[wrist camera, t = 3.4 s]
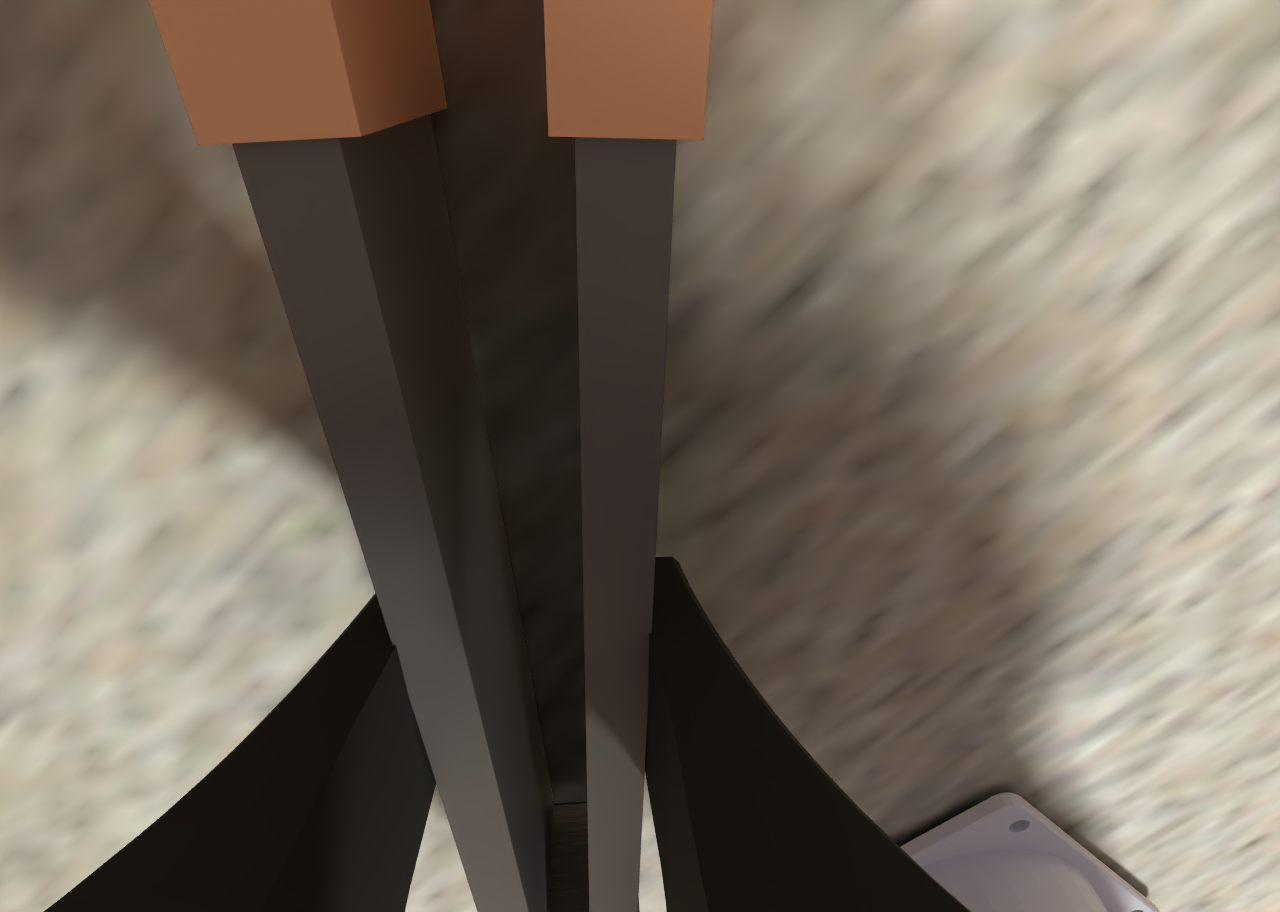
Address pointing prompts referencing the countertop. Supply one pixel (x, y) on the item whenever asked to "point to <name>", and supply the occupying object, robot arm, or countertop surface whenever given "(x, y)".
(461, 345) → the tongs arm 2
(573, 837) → the tongs hub
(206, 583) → the countertop surface
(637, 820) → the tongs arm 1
